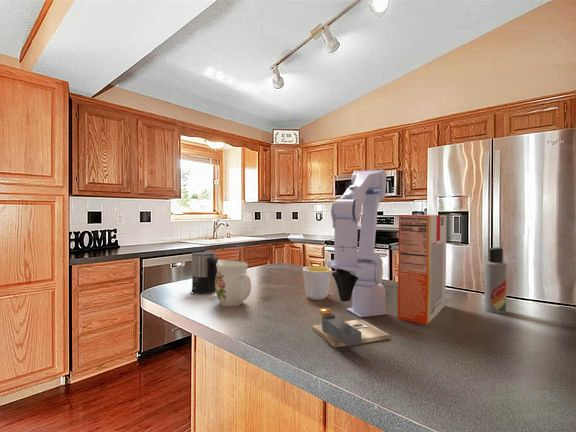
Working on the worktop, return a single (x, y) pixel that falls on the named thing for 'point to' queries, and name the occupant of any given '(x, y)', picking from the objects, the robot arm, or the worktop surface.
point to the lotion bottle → (495, 282)
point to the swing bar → (339, 328)
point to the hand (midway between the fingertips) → (345, 300)
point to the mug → (317, 282)
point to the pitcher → (232, 282)
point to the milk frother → (204, 272)
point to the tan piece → (366, 329)
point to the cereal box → (421, 267)
